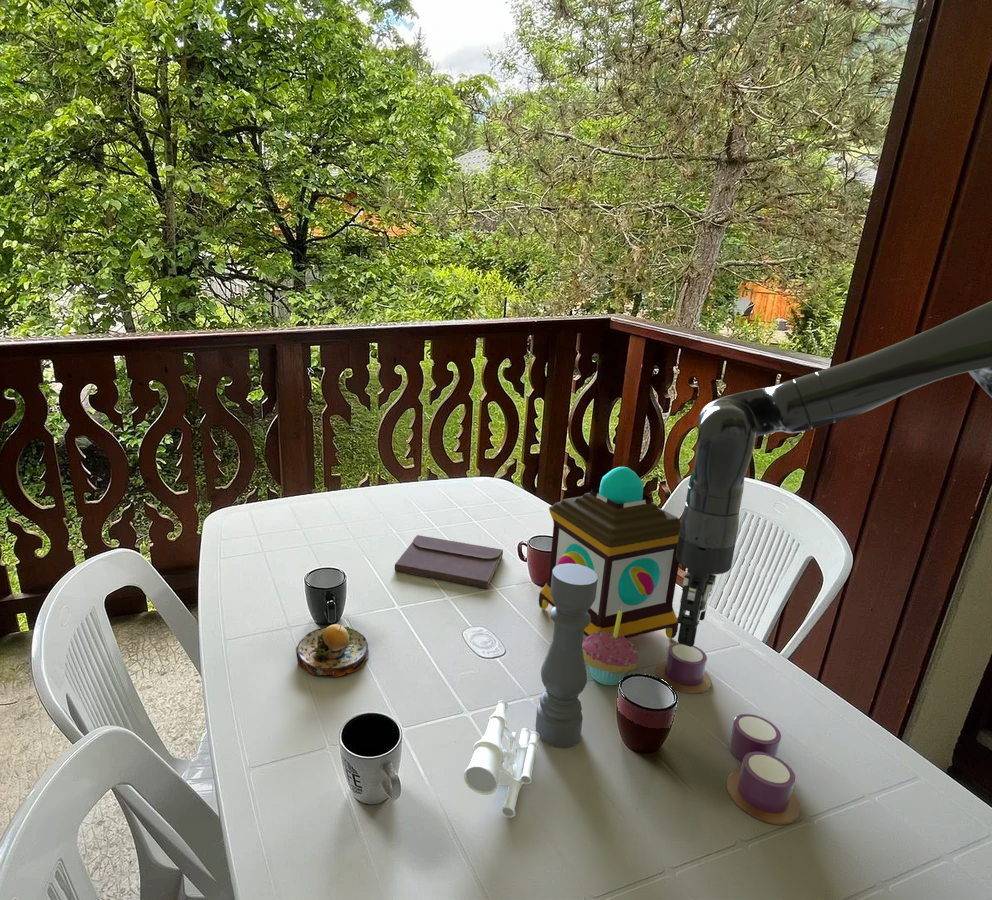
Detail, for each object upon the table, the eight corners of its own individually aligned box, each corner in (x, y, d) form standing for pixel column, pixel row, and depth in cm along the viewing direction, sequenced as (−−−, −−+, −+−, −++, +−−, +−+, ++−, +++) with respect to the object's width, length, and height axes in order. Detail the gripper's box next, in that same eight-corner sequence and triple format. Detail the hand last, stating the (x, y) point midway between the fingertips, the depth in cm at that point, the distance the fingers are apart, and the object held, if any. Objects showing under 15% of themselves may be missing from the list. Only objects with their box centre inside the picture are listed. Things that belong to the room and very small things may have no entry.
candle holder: (526, 732, 89) (541, 574, 82) (549, 709, 94) (564, 557, 86) (566, 755, 85) (586, 591, 78) (588, 730, 90) (608, 573, 82)
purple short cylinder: (790, 789, 80) (797, 764, 78) (786, 821, 75) (793, 794, 74) (740, 769, 83) (746, 744, 82) (734, 798, 78) (740, 772, 77)
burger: (358, 629, 113) (358, 592, 110) (377, 670, 102) (377, 630, 100) (291, 641, 109) (289, 603, 107) (303, 685, 99) (301, 643, 96)
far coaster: (714, 673, 102) (715, 671, 102) (705, 701, 96) (706, 698, 96) (662, 655, 106) (662, 653, 106) (650, 680, 100) (650, 678, 100)
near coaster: (801, 790, 80) (802, 788, 80) (797, 836, 74) (798, 834, 74) (731, 762, 84) (731, 759, 84) (721, 803, 78) (722, 800, 78)
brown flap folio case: (487, 589, 126) (487, 580, 126) (394, 571, 133) (394, 562, 132) (502, 556, 140) (503, 548, 139) (417, 541, 146) (417, 533, 146)
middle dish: (777, 748, 87) (783, 724, 86) (773, 775, 82) (779, 750, 81) (731, 731, 90) (736, 707, 89) (725, 756, 85) (730, 731, 84)
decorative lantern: (613, 586, 128) (631, 444, 118) (688, 641, 110) (717, 479, 101) (527, 605, 121) (539, 455, 112) (593, 667, 103) (614, 495, 94)
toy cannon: (515, 744, 90) (544, 729, 87) (495, 825, 77) (528, 811, 75) (478, 701, 90) (506, 685, 87) (452, 776, 77) (484, 760, 75)
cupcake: (595, 653, 107) (603, 590, 103) (644, 676, 101) (654, 611, 97) (568, 676, 101) (575, 610, 97) (618, 702, 95) (628, 633, 92)
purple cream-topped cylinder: (706, 671, 102) (710, 650, 100) (699, 691, 97) (703, 668, 96) (669, 659, 105) (672, 638, 103) (660, 677, 100) (664, 655, 99)
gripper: (689, 513, 101) (675, 603, 106) (669, 546, 90) (654, 644, 95) (742, 524, 97) (725, 617, 102) (728, 560, 86) (709, 662, 90)
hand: (691, 630), depth 98 cm, fingers open, 8 cm apart
